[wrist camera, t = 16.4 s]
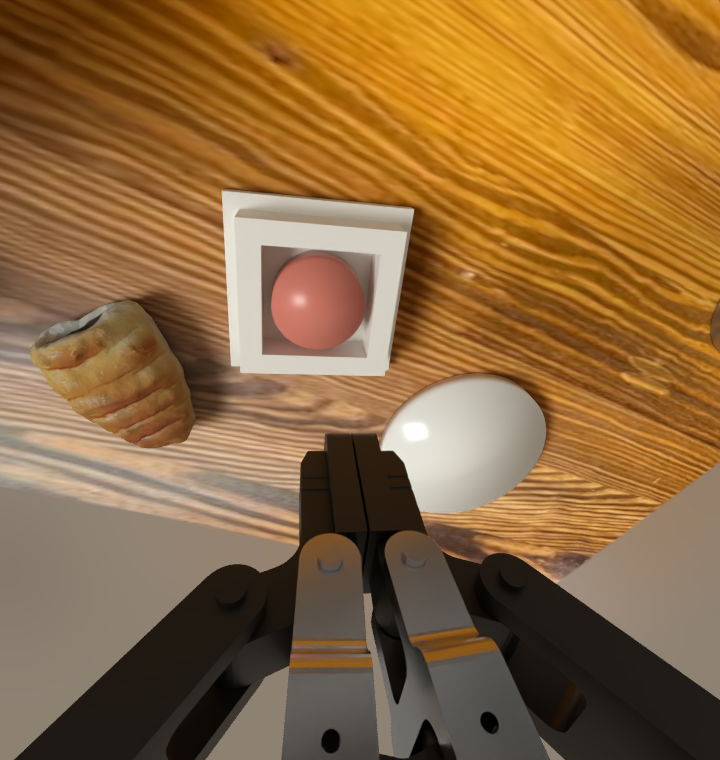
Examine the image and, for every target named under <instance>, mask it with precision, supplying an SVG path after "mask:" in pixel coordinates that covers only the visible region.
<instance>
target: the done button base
mask: <svg viewBox="0 0 720 760" xmlns="http://www.w3.org/2000/svg"><path fill="white" fill-rule="evenodd" d="M222 202H223V220H224V239H225V258H226V277H227V296H228V315H229V334H230V353H231V366H240V371H241V373H269V374H314V375H359V376H384V375H385V370H388V368H389V361H390V355H391V349H392V343H393V337H394V331H395V325H396V318H397V312H398V306H399V300H400V294H401V288H402V282H403V275H404V269H405V263H406V257H407V251H408V245H409V239H410V232H411V226H412V220H413V214H414V209H413V208H411V207H405V206H395V205H385V204H374V203H364V202H354V201H344V200H334V199H323V198H313V197H303V196H293V195H282V194H272V193H262V192H252V191H241V190H231V189H223V190H222ZM307 251H325V252H329V253H332V254H334V255H337V256H338V257H340V258H342V259H343V260H344V261H346V262H347V263H348V264H349V265H350V267H351V268H352V269H353V271H354V272H355V274H356V276H357V278H358V281H359V283H360V285H361V287H362V290H363V293H364V297H365V313H364V317H363V320H362V322H361V324H360V326H359V328H358V329H357V331H356V332H355V333H354V334H353V335H352V336H351V337H350V338H349V339H348V340H346V341H345V342H343V343H342V344H340V345H338V346H335V347H332V348H328V349H318V350H316V349H308V348H304V347H301V346H299V345H296V344H294V343H293V342H291V341H290V340H288V339H287V338H286V337H285V336H284V335H283V334H282V333H281V332H280V330H279V329H278V327H277V326H276V324H275V322H274V319H273V315H272V310H271V301H272V291H273V284H274V280H275V277H276V275H277V273H278V271H279V270H280V268H281V267H282V266H283V265H284V264H285V263H286V262H287V261H288V260H289V259H291V258H292V257H294V256H296V255H298V254H300V253H303V252H307Z"/></svg>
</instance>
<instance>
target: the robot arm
mask: <svg viewBox="0 0 720 760" xmlns="http://www.w3.org/2000/svg"><path fill="white" fill-rule="evenodd" d="M710 335H711V339H712V344H713V345H714V347H715V348H716V350H717V351H719V352H720V300H719V302H718V304H717V307H716V309H715V311H714V314H713V317H712V321H711V330H710ZM364 593H371V597H372V604H373V611H372V617H371V625H372V631H373V635H374V640H375V644H376V649H377V653H378V658H379V662H380V667H381V671H382V675H383V680H384V685H385V689H386V693H387V698H388V703H389V708H390V715H391V736H392V746H393V753H394V757H391V756H387V755H382V754H379V745H378V731H377V717H376V703H375V691H374V675H373V664H372V657H371V653H370V651H368V649H367V643H366V628H365V612H364V596H363V594H364ZM287 666H289V676H288V688H287V701H286V712H285V723H284V735H283V736H284V737H283V747H282V759H281V760H550V758H549V756H548V754H547V752H546V750H545V747H544V745H543V743H542V741H541V739H540V737H541V738H542V739H544V740H545V741H546V742H547V743H548V744H549V745H550V746H551V747H552V748H553V749H554V750H555V751H556V752H557V753H558V754H559V755H561V756H562V757H563V758H564V759H565V760H720V700H719V699H718V698H716V697H715V696H713V695H712V694H711V693H709V692H708V691H706V690H705V689H703V688H702V687H701V686H699V685H698V684H696V683H695V682H694V681H692V680H691V679H689V678H688V677H686V676H685V675H683V674H682V673H681V672H680V671H678V670H677V669H675V668H674V667H672V666H671V665H670V664H668V663H667V662H665V661H664V660H663V659H661V658H659V657H658V656H657V655H656V654H654V653H653V652H651V651H650V650H648V649H647V648H646V647H644V646H642V645H641V644H640V643H639V642H637V641H636V640H634V639H633V638H631V637H630V636H629V635H627V634H626V633H625V632H623V631H622V630H620V629H619V628H618V627H616V626H614V625H613V624H612V623H610V622H609V621H608V620H606V619H605V618H603V617H602V616H601V615H599V614H598V613H596V612H595V611H594V610H592V609H590V608H589V607H588V606H587V605H585V604H584V603H582V602H581V601H579V600H578V599H577V598H575V597H574V596H572V595H571V594H570V593H568V592H567V591H565V590H564V589H562V588H561V587H560V586H558V585H557V584H556V583H554V582H553V581H551V580H550V579H548V578H547V577H546V576H544V575H543V574H541V573H540V572H539V571H537V570H536V569H534V568H533V567H532V566H530V565H529V564H527V563H526V562H524V561H523V560H521V559H520V558H517V557H515V556H513V555H510V554H505V553H496V554H492V555H490V556H488V557H486V558H485V559H484V560H483V562H482V564H478V563H474V562H470V561H466V560H462V559H458V558H455V557H452V556H450V555H448V554H446V553H444V552H443V551H442V550H441V549H440V547H439V546H438V544H437V543H436V542H435V541H434V540H433V539H432V538H430V537H429V536H428V535H427V533H426V530H425V527H424V524H423V520H422V517H421V514H420V511H419V508H418V505H417V502H416V499H415V495H414V492H413V490H412V486H411V483H410V480H409V479H408V474H407V471H406V467H405V464H404V462H403V461H402V460H401V459H400V458H399V456H398V455H397V454H396V453H395V452H394V451H381V450H380V446H379V442H378V438H377V435H376V434H351V435H350V434H325V442H324V451H308V452H307V454H306V455H305V457H304V459H303V460H302V462H301V469H300V495H299V547H298V550H297V551H296V553H295V554H294V555H293V556H292V557H291V558H290V559H289V560H288V561H287V562H285V563H284V564H282V565H280V566H278V567H275V568H273V569H270V570H267V571H264V572H261V573H259V572H258V571H257V570H256V569H254V568H252V567H250V566H247V565H241V564H234V565H228V566H225V567H222V568H220V569H217V570H216V571H215V572H213V573H211V574H210V575H209V576H208V577H207V578H205V579H204V580H203V581H202V582H201V583H200V584H199V585H198V586H197V587H196V588H195V589H194V590H193V591H192V592H191V593H190V594H189V595H188V596H186V597H185V599H183V601H181V602H180V603H179V604H178V605H177V606H176V607H175V608H174V609H173V610H172V611H171V612H170V613H169V614H167V615H166V616H165V617H164V618H163V619H162V620H161V621H160V622H159V623H158V624H157V625H156V626H155V627H154V628H153V629H152V630H151V631H150V632H148V633H147V634H146V635H145V636H144V637H143V638H142V639H141V640H140V641H139V642H138V643H137V644H136V645H135V646H134V647H133V648H132V649H131V650H130V651H129V652H127V654H125V655H124V656H123V657H122V658H121V659H120V660H119V661H118V662H117V663H116V664H115V665H114V666H113V667H112V668H111V669H110V670H108V671H107V672H106V673H105V674H104V675H103V676H102V677H101V678H100V679H99V680H98V681H97V682H96V683H95V684H94V685H93V686H92V687H90V689H88V690H87V691H86V692H85V693H84V694H83V695H82V696H81V697H80V698H79V699H78V700H77V701H76V702H75V703H74V704H72V706H70V707H69V708H68V709H67V710H66V711H65V712H64V713H63V714H62V715H61V716H60V717H59V718H58V719H57V720H56V721H55V722H54V723H52V724H51V725H50V726H49V727H48V728H47V729H46V730H45V731H44V732H43V733H42V734H41V735H40V736H39V737H38V738H37V739H36V740H34V741H33V742H32V743H31V744H30V745H29V746H28V747H27V748H26V749H25V750H24V751H23V752H22V753H21V754H20V755H19V756H18V757H17V758H16V759H14V760H205V759H206V758H207V757H208V755H209V754H210V753H211V751H212V750H213V748H214V747H215V746H216V745H217V743H218V742H219V740H220V739H221V738H222V736H223V735H224V734H225V732H226V731H227V730H228V728H229V727H230V725H231V724H232V723H233V721H234V720H235V719H236V717H237V716H238V714H239V713H240V712H241V710H242V709H243V707H244V706H245V705H246V703H247V702H248V701H249V699H250V698H251V696H252V695H253V694H254V693H255V691H256V690H257V688H258V687H259V686H260V684H261V683H262V681H263V679H264V677H266V676H268V675H271V674H273V673H275V672H277V671H279V670H281V669H283V668H285V667H287Z"/></svg>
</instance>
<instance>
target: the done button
mask: <svg viewBox="0 0 720 760" xmlns="http://www.w3.org/2000/svg"><path fill="white" fill-rule="evenodd" d="M271 310H272V315H273V319H274V322H275V324H276V326H277V327H278V329H279V330H280V332H281V333H282V334H283V335H284V336H285V337H286V338H287V339H288V340H290V341H291V342H293V343H294V344H296V345H299V346H301V347H304V348H308V349H316V350H318V349H328V348H332V347H335V346H338V345H340V344H342V343H343V342H345V341H346V340H348V339H349V338H350V337H351V336H352V335H353V334H354V333H355V332H356V331H357V329H358V328H359V326H360V324H361V322H362V320H363V317H364V313H365V297H364V293H363V290H362V287H361V285H360V283H359V281H358V278H357V276H356V274H355V272H354V271H353V269H352V268H351V267H350V265H349V264H348V263H347V262H346V261H344V260H343V259H342V258H340V257H338V256H337V255H334V254H332V253H329V252H325V251H307V252H303V253H300V254H298V255H296V256H294V257H292V258H291V259H289V260H288V261H287V262H286V263H285V264H284V265H283V266H282V267H281V268H280V270H279V271H278V273H277V275H276V277H275V280H274V284H273V291H272V301H271Z"/></svg>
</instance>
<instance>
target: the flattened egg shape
mask: <svg viewBox="0 0 720 760" xmlns="http://www.w3.org/2000/svg"><path fill="white" fill-rule="evenodd" d="M545 439H546V423H545V418H544V415H543V413H542V411H541V409H540V407H539V405H538V404H537V403H536V402H535V401H534V399H533V398H532V397H531V396H530V395H529V394H528V393H527V392H526V391H525V390H524V389H523V388H522V387H521V386H520V385H518V384H517V383H515V382H513V381H512V380H510V379H507V378H504V377H502V376H498V375H493V374H485V373H468V374H462V375H456V376H452V377H449V378H445V379H442V380H440V381H437V382H435V383H433V384H431V385H429V386H427V387H425V388H423V389H421V390H420V391H418V392H417V393H415V394H414V395H413V396H411V397H410V398H409V399H408V400H406V401H405V402H404V403H403V404H402V405H401V406H400V407H399V408H398V409H397V410H396V412H395V413H394V414H393V416H392V417H391V418H390V420H389V422H388V423H387V425H386V427H385V429H384V431H383V434H382V436H381V440H380V444H379V446H380V450H381V451H394V452H395V453H396V454H397V455H398V456H399V458H400V459H401V460H402V461H403V462H404V464H405V467H406V471H407V474H408V479H409V480H410V483H411V486H412V490H413V492H414V495H415V499H416V502H417V505H418V508H419V510H420V511H425V512H430V513H457V512H463V511H467V510H471V509H475V508H478V507H481V506H483V505H486V504H488V503H490V502H492V501H495V500H496V499H498V498H500V497H502V496H503V495H505V494H506V493H508V492H509V491H511V490H512V489H513V488H514V487H516V486H517V485H518V484H519V483H520V482H521V481H522V480H523V479H524V478H525V477H526V476H527V475H528V474H529V473H530V471H531V470H532V469H533V467H534V466H535V464H536V463H537V461H538V459H539V457H540V455H541V453H542V450H543V447H544V444H545Z"/></svg>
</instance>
